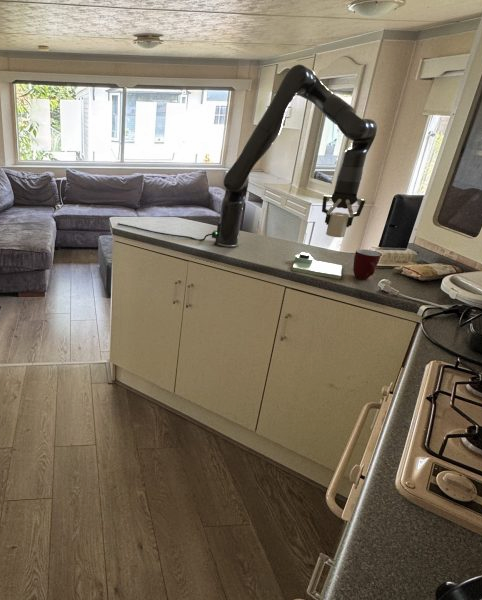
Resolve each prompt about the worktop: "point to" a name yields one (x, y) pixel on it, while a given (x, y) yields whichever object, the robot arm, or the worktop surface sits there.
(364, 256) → the mug
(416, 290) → the worktop surface
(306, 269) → the scale
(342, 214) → the cream cup
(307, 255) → the tare button
